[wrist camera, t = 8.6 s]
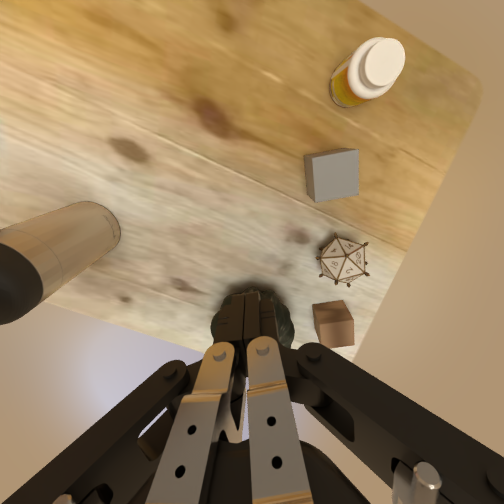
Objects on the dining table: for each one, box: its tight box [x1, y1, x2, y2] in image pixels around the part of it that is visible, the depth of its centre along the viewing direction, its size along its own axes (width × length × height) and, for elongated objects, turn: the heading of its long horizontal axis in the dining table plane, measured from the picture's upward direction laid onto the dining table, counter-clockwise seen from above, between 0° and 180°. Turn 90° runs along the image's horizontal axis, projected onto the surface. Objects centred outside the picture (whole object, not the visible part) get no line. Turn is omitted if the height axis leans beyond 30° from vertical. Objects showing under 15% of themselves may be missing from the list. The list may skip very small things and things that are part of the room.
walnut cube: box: [312, 300, 354, 348], centre depth 47 cm, size 6×6×6 cm
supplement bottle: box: [330, 37, 405, 107], centre depth 29 cm, size 6×6×10 cm
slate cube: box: [304, 148, 359, 203], centre depth 36 cm, size 6×6×6 cm
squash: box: [211, 287, 295, 349], centre depth 44 cm, size 14×15×15 cm
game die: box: [316, 233, 370, 287], centre depth 40 cm, size 9×8×10 cm
